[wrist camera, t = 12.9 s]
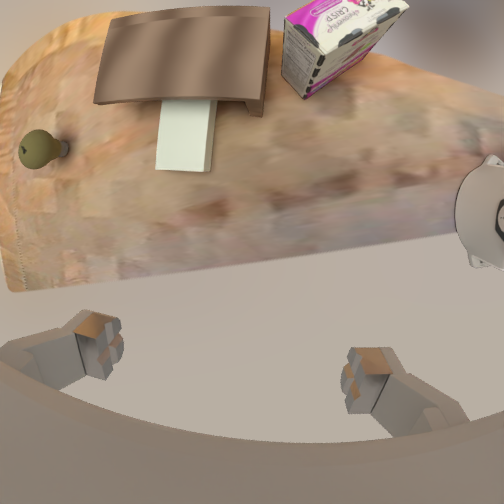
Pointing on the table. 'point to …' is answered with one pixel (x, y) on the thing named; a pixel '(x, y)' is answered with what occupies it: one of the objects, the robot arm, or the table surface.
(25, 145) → the light bulb
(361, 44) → the candy bar box
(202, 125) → the mint green beam
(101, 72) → the walnut shelf
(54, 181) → the table surface
